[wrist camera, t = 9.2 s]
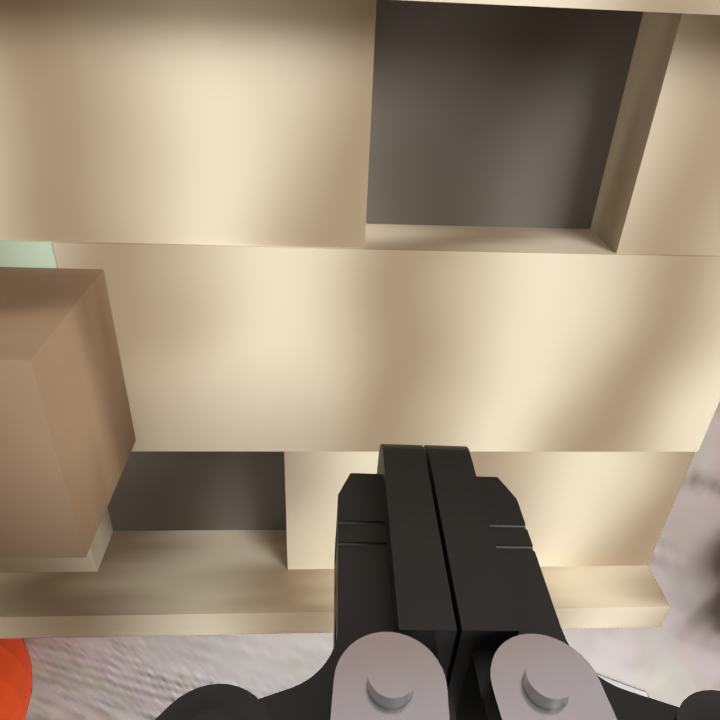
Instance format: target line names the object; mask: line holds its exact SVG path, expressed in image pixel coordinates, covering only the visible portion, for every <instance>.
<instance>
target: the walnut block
mask: <svg viewBox="0 0 720 720" xmlns="http://www.w3.org/2000/svg"><path fill="white" fill-rule="evenodd" d="M135 441H136V438H135V433H134V428H133V422H132V417H131V412H130V406H129V401H128V396H127V391H126V385H125V380H124V375H123V370H122V364H121V359H120V354H119V349H118V343H117V338H116V333H115V328H114V322H113V317H112V312H111V306H110V301H109V296H108V291H107V285H106V280H105V275H104V270H103V269H69V268H24V267H0V558H86V556H87V553H88V551H89V549H90V546H91V544H92V542H93V539H94V537H95V535H96V532H97V530H98V528H99V525H100V523H101V521H102V518H103V516H104V514H105V511H106V509H107V507H108V504H109V502H110V500H111V497H112V495H113V493H114V490H115V488H116V486H117V483H118V481H119V479H120V476H121V474H122V472H123V469H124V467H125V465H126V462H127V460H128V458H129V455H130V453H131V451H132V448H133V446H134V444H135Z"/></svg>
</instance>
